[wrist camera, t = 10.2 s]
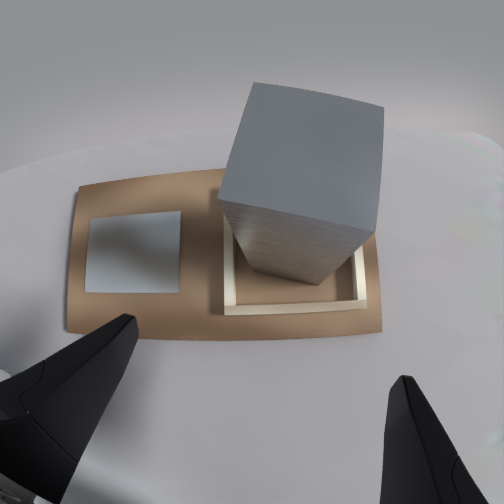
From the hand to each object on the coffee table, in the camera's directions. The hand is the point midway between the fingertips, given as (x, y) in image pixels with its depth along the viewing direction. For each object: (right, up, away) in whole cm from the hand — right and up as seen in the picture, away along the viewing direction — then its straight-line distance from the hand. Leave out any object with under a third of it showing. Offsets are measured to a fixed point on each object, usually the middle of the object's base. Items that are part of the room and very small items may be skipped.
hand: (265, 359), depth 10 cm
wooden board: (-3, +3, +14) cm, 15 cm away
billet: (+2, +4, +12) cm, 13 cm away
